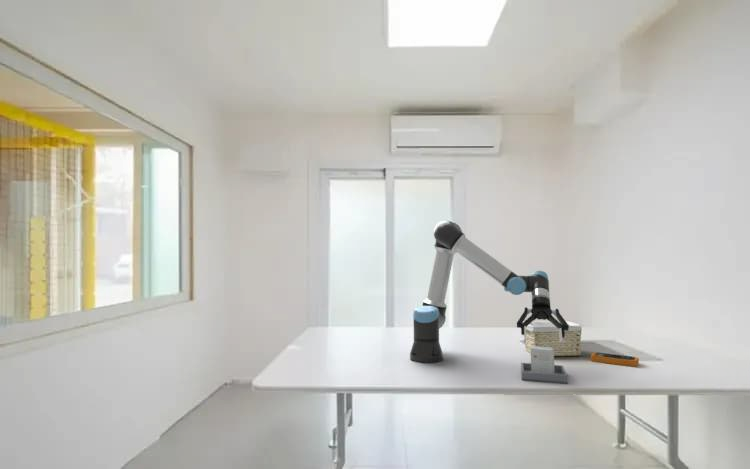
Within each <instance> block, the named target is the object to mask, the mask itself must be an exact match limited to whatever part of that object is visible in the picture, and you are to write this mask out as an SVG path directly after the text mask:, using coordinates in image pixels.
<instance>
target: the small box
mask: <svg viewBox="0 0 750 469" xmlns="http://www.w3.org/2000/svg"><path fill="white" fill-rule="evenodd" d="M530 363H531V372H534V373H547V374H555V371H554V365H555V356H554V348H551V347H540V346H533V347H532V348H531V353H530Z"/></svg>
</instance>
